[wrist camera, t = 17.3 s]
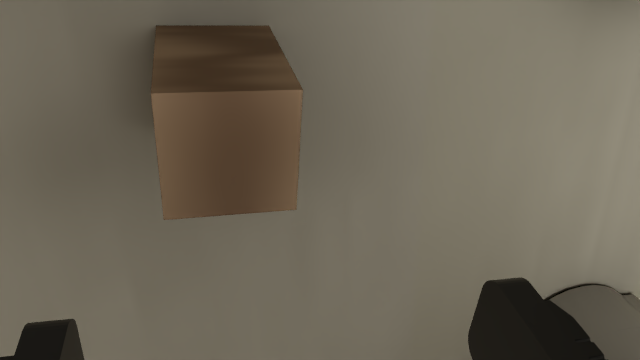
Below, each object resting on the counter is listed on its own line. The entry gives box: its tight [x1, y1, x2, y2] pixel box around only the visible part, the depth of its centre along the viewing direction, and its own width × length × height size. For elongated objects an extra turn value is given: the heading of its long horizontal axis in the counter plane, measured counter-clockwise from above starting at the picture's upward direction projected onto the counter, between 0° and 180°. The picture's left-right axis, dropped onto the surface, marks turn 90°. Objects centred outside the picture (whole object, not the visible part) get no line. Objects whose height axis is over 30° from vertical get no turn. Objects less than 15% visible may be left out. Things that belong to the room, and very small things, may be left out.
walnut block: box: [151, 26, 303, 220], centre depth 20 cm, size 4×4×7 cm
